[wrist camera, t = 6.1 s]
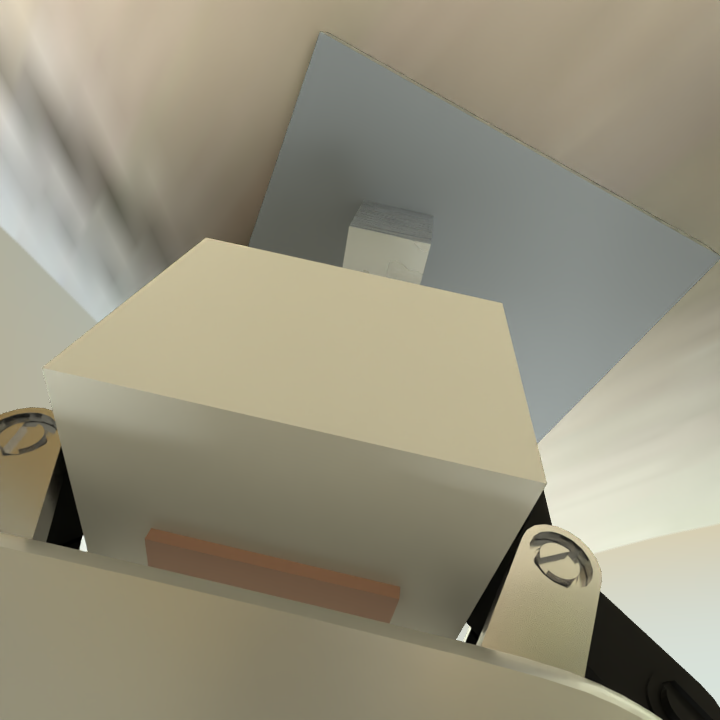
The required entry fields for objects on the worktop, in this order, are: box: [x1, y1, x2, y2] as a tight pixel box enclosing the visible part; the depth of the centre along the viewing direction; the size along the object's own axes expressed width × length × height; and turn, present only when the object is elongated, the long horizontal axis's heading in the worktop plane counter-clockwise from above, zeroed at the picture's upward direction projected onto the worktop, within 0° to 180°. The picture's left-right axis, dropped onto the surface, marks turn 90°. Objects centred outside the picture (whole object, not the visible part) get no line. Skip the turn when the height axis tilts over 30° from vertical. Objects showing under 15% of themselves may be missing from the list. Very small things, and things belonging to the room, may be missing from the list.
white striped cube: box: [42, 238, 547, 640], centre depth 10 cm, size 6×6×5 cm
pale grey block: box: [342, 200, 433, 285], centre depth 20 cm, size 3×2×4 cm, turn 80°
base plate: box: [248, 31, 720, 443], centre depth 24 cm, size 19×16×2 cm
